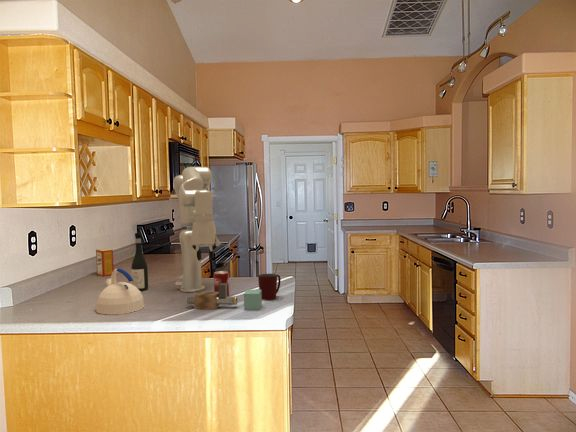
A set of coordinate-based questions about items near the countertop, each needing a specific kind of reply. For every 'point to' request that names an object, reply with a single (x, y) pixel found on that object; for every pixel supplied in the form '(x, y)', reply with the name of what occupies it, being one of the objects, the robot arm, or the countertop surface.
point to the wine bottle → (139, 267)
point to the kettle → (119, 296)
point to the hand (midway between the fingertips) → (205, 259)
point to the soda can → (221, 280)
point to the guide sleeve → (206, 300)
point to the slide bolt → (221, 299)
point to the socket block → (252, 300)
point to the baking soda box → (104, 262)
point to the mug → (268, 286)
